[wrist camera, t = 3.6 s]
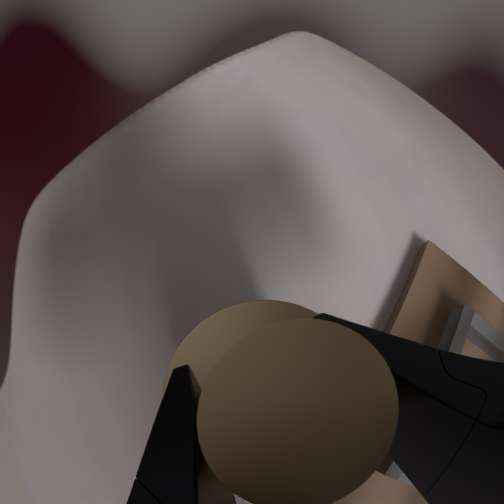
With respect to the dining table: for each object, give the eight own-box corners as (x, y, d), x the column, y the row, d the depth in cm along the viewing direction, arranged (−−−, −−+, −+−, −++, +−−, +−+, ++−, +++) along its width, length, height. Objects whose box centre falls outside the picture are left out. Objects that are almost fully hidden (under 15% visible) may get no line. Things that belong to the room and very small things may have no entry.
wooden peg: (324, 372, 16) (494, 345, 5) (263, 460, 14) (337, 599, 3) (235, 313, 17) (253, 175, 6) (170, 399, 15) (46, 440, 4)
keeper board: (547, 356, 17) (566, 351, 15) (463, 545, 11) (481, 553, 8) (421, 246, 20) (440, 230, 18) (282, 489, 13) (291, 505, 11)
